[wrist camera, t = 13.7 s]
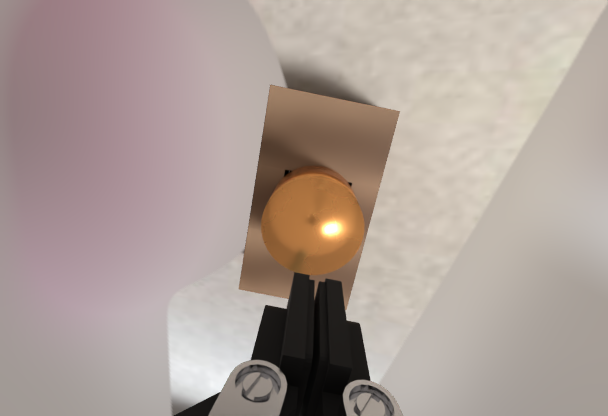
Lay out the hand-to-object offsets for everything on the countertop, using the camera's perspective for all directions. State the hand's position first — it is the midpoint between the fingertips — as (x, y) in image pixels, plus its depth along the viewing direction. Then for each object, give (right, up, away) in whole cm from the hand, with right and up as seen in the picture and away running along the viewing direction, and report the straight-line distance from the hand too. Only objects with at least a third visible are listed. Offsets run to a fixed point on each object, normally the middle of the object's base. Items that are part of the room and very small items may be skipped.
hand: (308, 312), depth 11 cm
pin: (+1, +5, +19) cm, 19 cm away
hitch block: (+1, +5, +19) cm, 20 cm away
